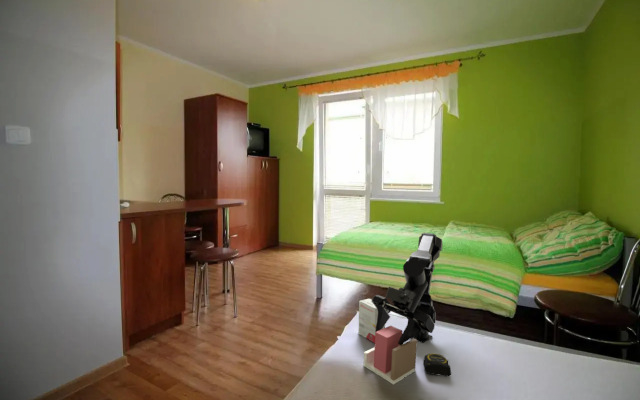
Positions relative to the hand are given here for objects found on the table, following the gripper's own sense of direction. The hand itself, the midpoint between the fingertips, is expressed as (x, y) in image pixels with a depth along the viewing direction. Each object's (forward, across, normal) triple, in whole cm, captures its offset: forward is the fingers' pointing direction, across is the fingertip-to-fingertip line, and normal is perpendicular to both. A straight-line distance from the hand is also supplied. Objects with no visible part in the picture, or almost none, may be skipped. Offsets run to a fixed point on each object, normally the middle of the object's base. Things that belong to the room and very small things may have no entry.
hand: (387, 338), depth 87 cm
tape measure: (-1, +10, +14) cm, 17 cm away
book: (+5, 0, +6) cm, 8 cm away
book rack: (+6, 0, +7) cm, 9 cm away
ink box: (-1, -15, +15) cm, 21 cm away
